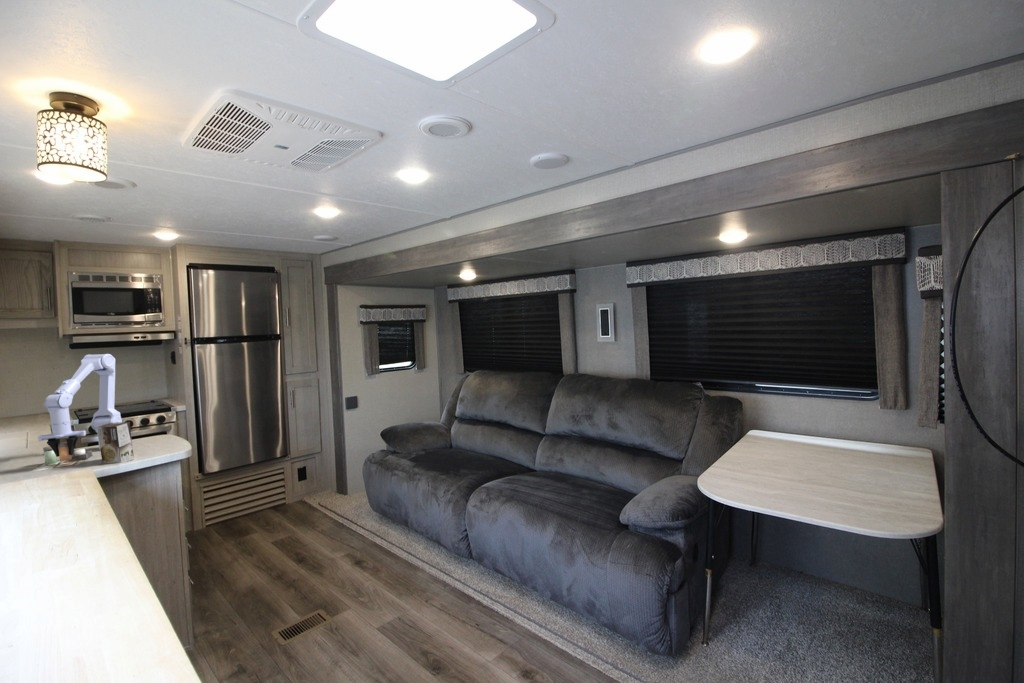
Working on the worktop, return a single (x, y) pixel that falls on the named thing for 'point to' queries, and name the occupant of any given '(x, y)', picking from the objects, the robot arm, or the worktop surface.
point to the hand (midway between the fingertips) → (65, 455)
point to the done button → (79, 451)
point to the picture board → (74, 461)
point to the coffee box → (115, 442)
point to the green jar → (49, 456)
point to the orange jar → (64, 451)
